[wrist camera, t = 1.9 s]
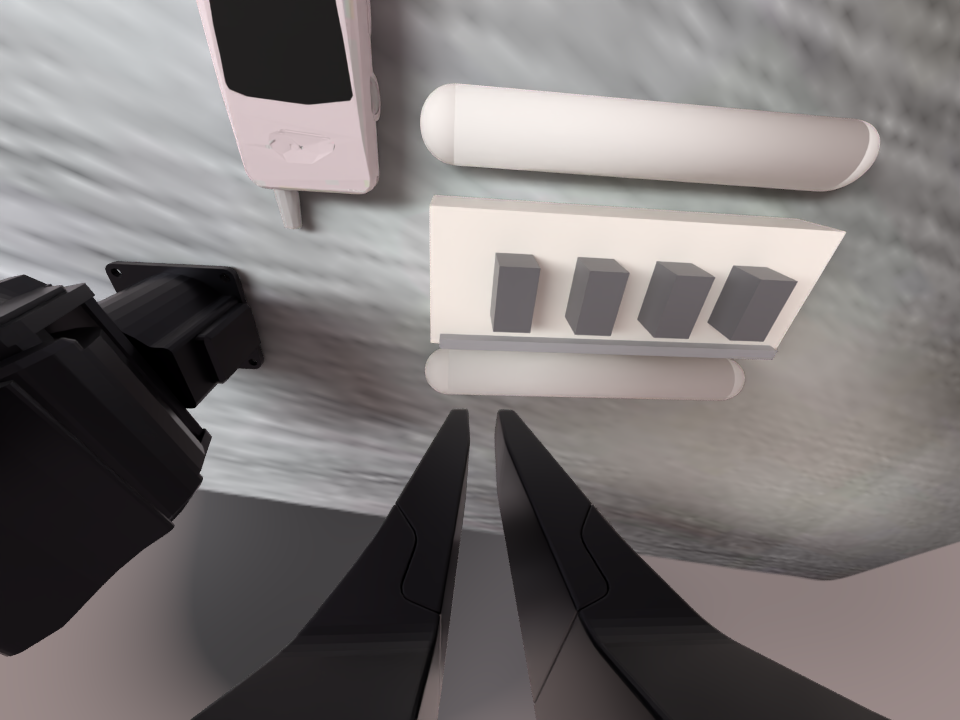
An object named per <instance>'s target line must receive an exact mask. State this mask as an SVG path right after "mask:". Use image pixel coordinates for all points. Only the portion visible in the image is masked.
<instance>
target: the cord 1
mask: <svg viewBox="0 0 960 720" xmlns="http://www.w3.org/2000/svg"><path fill="white" fill-rule="evenodd" d="M425 376H426V379H427V381H428V383H429V385H430V386H431V387H432V388H433V389H434V390H436V391H438V392H440V393H443V394H460V395H503V396H546V397H588V398H631V399H674V400H717V401H718V400H726V399H730V398H732V397H734V396H736V395H737V394H738V393H739V392H740V391H741V390H742V388H743V386H744V383H745V375H744V371H743V369H742V368H741V366H740V365H739V364H738V363H737V362H735V361H734V360H732V359H730V358H702V357H672V356H641V355H611V354H580V353H549V352H519V351H488V350H458V349H438V350H436V351H435V352H433V353H432V354H431V355H430V357H429V358H428V360H427V362H426V365H425Z"/></svg>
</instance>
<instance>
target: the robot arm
mask: <svg viewBox="0 0 960 720" xmlns="http://www.w3.org/2000/svg"><path fill="white" fill-rule="evenodd" d="M117 269H118V270H119V271H120V272H121V273H122V274H121V273H119V272H118V271H117ZM105 270H106V273H107V275H108V277H109V279H110V281H111V283H112V285H113V287H114V289H115V290H116V292H117V293H116V294H114V295H112V296H110V297H108V298H106V299H104V300H101V301H99V302H96V300H95V299H94V298H93V296H95V294H94V293H93V292H92V291H91V290H90V288H89V287H88V286H87V285H86V284H85V283H81V284H76V285H71V286H66V287H63V286H62V285H58V286H52V285H51V284H45V283H43V282H40V281H38V280H36V279H33V278H31V277H29V276H26V275H19V276H15V277H10V278H7V279H4V280H1V281H0V654H2V655H4V656H13V655H16V654H18V653H21V652H23V651H24V650H26V649H28V648H29V647H31V646H33V645H34V644H36V643H38V642H39V641H41V640H42V639H44V638H46V637H47V636H49V635H51V634H52V633H54V632H55V631H57V630H59V629H60V628H62V627H63V626H64V625H65V624H66V623H67V622H68V621H69V620H70V619H71V618H72V617H73V616H74V615H75V614H76V613H77V612H78V610H80V609H81V608H82V606H83V605H84V604H85V603H86V602H87V601H88V600H89V599H90V598H91V597H92V596H93V595H94V594H95V593H96V592H97V591H98V590H99V589H100V588H101V587H102V585H104V583H106V582H107V581H108V580H109V579H110V578H111V577H112V576H113V575H114V574H115V573H116V572H117V571H118V570H119V569H120V568H121V567H123V566H124V565H125V564H126V563H127V562H129V561H130V560H131V559H132V558H133V557H135V556H136V555H137V554H138V553H139V552H141V551H142V550H143V549H145V548H146V547H148V546H149V545H151V544H152V543H154V542H155V541H157V540H158V539H159V538H161V537H163V536H164V535H165V534H167V533H168V532H170V531H171V530H172V529H173V528H174V524H173V523H172V521H173V520H174V519H175V518H176V517H177V515H178V514H179V513H180V512H181V511H182V510H183V509H184V507H185V506H186V504H187V503H188V502H189V500H190V499H191V497H192V496H193V495H194V494H195V492H196V491H197V489H198V488H199V487H200V485H201V483H202V480H203V477H202V476H201V474H200V471H201V469H202V466H203V462H204V459H205V456H206V453H207V450H208V447H209V444H210V441H211V438H212V436H211V435H210V434H209V432H208V431H207V430H206V429H202V428H201V426H200V425H199V424H198V423H197V422H196V420H195V419H194V418H193V417H192V416H191V414H190V413H189V412H188V411H187V410H186V408H195V407H196V406H197V405H198V404H199V403H200V402H201V401H202V400H203V399H204V398H205V397H206V396H207V395H208V393H209V392H210V391H211V390H212V389H213V388H214V387H215V386H216V385H217V384H223V383H225V382H226V381H227V380H228V379H229V377H230V376H231V375H232V374H233V373H234V372H235V371H236V370H237V369H238V368H242V369H258V368H260V367H261V366H262V364H263V363H264V357H263V354H262V351H261V348H260V343H261V341H260V338H259V335H258V331H257V328H256V325H255V322H254V318H253V315H252V312H251V308H250V307H249V306H248V304H247V302H246V299H245V295H244V292H243V289H242V286H241V282H240V279H239V276H238V274H237V272H236V271H235V270H234V269H232V268H230V267H226V266H207V265H186V264H165V263H144V262H123V261H116V262H112V263H110V264H108V265H107V266H106V268H105ZM224 273H225V274H227V275H228V276H229V277H230V280H229V279H227V278H226V277H225V276H224ZM252 359H254V360H256V361H257V362H254V361H253V360H252ZM469 448H470V432H469V414H468V410H467V409H452V410H451V412H450V414H449V415H448V417H447V419H446V420H445V422H444V423H443V425H442V427H441V428H440V430H439V432H438V433H437V435H436V437H435V438H434V440H433V442H432V443H431V445H430V447H429V448H428V450H427V452H426V453H425V455H424V456H423V458H422V460H421V461H420V463H419V465H418V466H417V468H416V470H415V471H414V473H413V475H412V476H411V478H410V480H409V481H408V483H407V485H406V486H405V488H404V489H403V491H402V493H401V494H400V496H399V498H398V499H397V501H396V503H395V505H394V506H393V507H392V509H391V511H390V512H389V514H388V516H387V517H386V519H385V520H384V522H383V524H382V525H381V527H380V528H379V530H378V531H377V533H376V534H375V536H374V537H373V539H372V540H371V542H370V543H369V544H368V546H367V547H366V548H365V550H364V551H363V552H362V554H361V555H360V556H359V558H358V559H357V560H356V562H355V563H354V564H353V566H352V567H351V568H350V570H349V571H348V572H347V574H346V575H345V576H344V577H343V579H342V580H341V581H340V582H339V584H338V585H337V586H336V587H335V589H334V590H333V591H332V593H331V594H330V595H329V596H328V598H327V599H326V600H325V601H324V603H323V604H322V605H321V607H320V608H319V609H318V610H317V612H316V613H315V614H314V615H313V617H312V618H311V619H310V620H309V622H308V623H307V624H306V625H305V627H304V628H303V629H302V630H301V631H300V632H299V633H298V634H297V636H296V637H295V638H294V639H293V640H292V641H291V642H290V643H289V644H288V645H287V646H286V647H284V648H283V649H282V650H281V651H280V652H279V653H278V654H277V655H275V656H274V657H273V658H271V659H270V660H269V661H268V662H266V663H265V664H264V665H262V666H261V667H260V668H258V669H257V670H256V671H254V672H253V673H252V674H250V675H249V676H248V677H246V678H245V679H244V680H242V681H241V682H240V683H238V684H237V685H236V686H235V687H233V688H232V689H230V690H229V691H228V692H226V693H225V694H224V695H222V696H221V697H220V698H218V699H217V700H216V701H215V702H213V703H212V704H211V705H209V706H208V707H207V708H205V709H204V710H203V711H201V712H200V713H199V714H197V715H196V716H195V717H193V718H192V719H191V720H438V712H439V704H440V696H441V688H442V681H443V673H444V665H445V657H446V649H447V641H448V634H449V626H450V617H451V610H452V602H453V594H454V587H455V578H456V570H457V563H458V555H459V546H460V540H461V532H462V524H463V516H464V508H465V500H466V488H467V475H468V461H469ZM495 459H496V480H497V494H498V501H499V507H500V513H501V518H502V524H503V530H504V536H505V541H506V547H507V553H508V558H509V563H510V570H511V576H512V581H513V587H514V593H515V599H516V605H517V611H518V616H519V622H520V627H521V634H522V639H523V645H524V650H525V656H526V662H527V668H528V674H529V679H530V685H531V690H532V697H533V702H534V703H535V705H534V709H535V714H536V720H890V719H888V718H886V717H884V716H882V715H880V714H878V713H876V712H873V711H871V710H869V709H867V708H865V707H863V706H861V705H859V704H857V703H855V702H853V701H851V700H850V699H848V698H846V697H844V696H842V695H840V694H837V693H836V692H834V691H832V690H830V689H828V688H826V687H824V686H822V685H820V684H818V683H816V682H814V681H812V680H810V679H808V678H806V677H804V676H802V675H801V674H799V673H797V672H795V671H792V670H791V669H789V668H786V667H785V666H783V665H781V664H779V663H777V662H775V661H773V660H771V659H769V658H767V657H765V656H763V655H761V654H759V653H757V652H755V651H754V650H751V649H750V648H748V647H746V646H744V645H741V644H740V643H738V642H736V641H734V640H732V639H731V638H729V637H728V636H726V635H725V634H723V633H721V632H720V631H719V630H717V629H716V628H715V627H713V626H712V625H711V624H710V623H708V622H707V621H706V620H705V619H703V618H702V617H701V616H700V615H699V614H698V613H697V612H696V611H694V609H693V608H691V607H690V606H689V605H688V604H687V603H686V602H685V601H684V600H683V599H682V598H681V597H680V596H679V595H678V594H677V593H676V592H675V591H674V590H673V589H672V588H671V587H670V586H669V585H668V584H667V583H666V582H665V581H664V580H663V579H662V578H661V577H660V576H659V575H658V574H657V573H656V572H655V571H654V570H653V569H652V568H651V567H650V566H649V565H648V564H647V563H646V562H645V561H644V560H643V559H642V558H641V557H640V556H639V555H638V554H637V553H636V552H635V551H634V550H633V549H632V548H631V547H630V546H629V545H628V544H627V543H626V542H625V540H624V539H623V538H622V537H621V536H620V535H619V534H618V533H617V532H616V531H615V530H614V528H613V527H612V526H611V525H610V524H609V523H608V522H607V520H606V519H605V518H604V517H603V516H602V515H601V513H600V512H599V511H598V510H597V509H596V508H595V506H594V505H591V502H590V501H589V499H588V498H587V497H586V496H585V495H584V493H583V492H582V491H581V490H580V489H579V487H578V486H577V485H576V484H575V483H574V481H573V480H572V479H571V478H570V477H569V475H568V474H567V473H566V472H565V471H564V470H563V468H562V467H561V466H560V465H559V464H558V462H557V461H556V460H555V459H554V458H553V456H552V455H551V454H550V453H549V452H548V450H547V449H546V448H545V447H544V446H543V444H542V443H541V442H540V441H539V440H538V438H537V437H536V436H535V435H534V434H533V433H532V431H531V430H530V429H529V428H528V427H527V425H526V424H525V423H524V422H523V421H522V419H521V418H520V417H519V416H518V415H517V413H516V412H515V411H513V410H499V411H498V412H497V419H496V427H495Z"/></svg>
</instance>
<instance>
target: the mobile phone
mask: <svg viewBox="0 0 960 720" xmlns="http://www.w3.org/2000/svg"><path fill="white" fill-rule="evenodd" d="M196 2H197V6H198V9H199V13H200V17H201V20H202V24H203V28H204V31H205V35H206V39H207V42H208V46H209V50H210V53H211V57H212V61H213V64H214V68H215V72H216V75H217V79H218V83H219V86H220V90H221V93H222V96H223V100H224V103H225V106H226V109H227V113H228V116H229V119H230V122H231V126H232V129H233V132H234V135H235V139H236V142H237V145H238V148H239V152H240V155H241V158H242V161H243V165H244V168H245V171H246V173H247V175H248V176H249V178H250V179H251V180H252V181H253V182H254V183H256V184H257V185H258V186H260V187H262V188H267V189H274V193H275V197H276V200H277V204H278V207H279V210H280V213H281V217H282V220H283V223H284V226H285V228H287V229H299V228H301V227H302V219H301V209H300V200H299V193H298V191H312V192H328V193H345V194H365V193H367V192H369V191H370V190H372V189H373V188H374V187H375V186H376V184H377V183H378V180H379V163H378V147H377V131H376V121H377V120H379V117H380V114H381V103H380V92H379V86H378V82H377V78H376V76H375V75H374V73H373V67H372V53H371V38H370V36H371V8H370V0H196Z"/></svg>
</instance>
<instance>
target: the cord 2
mask: <svg viewBox="0 0 960 720" xmlns="http://www.w3.org/2000/svg"><path fill="white" fill-rule="evenodd" d="M420 129H421V134H422V138H423V140H424V143H425V145H426V147H427V148H428V150H429V151H430V152H431V153H432V154H433V155H434V157H436V158H437V159H438V160H440V161H442V162H444V163H446V164H450V165H458V166H472V167H485V168H499V169H513V170H527V171H541V172H555V173H569V174H583V175H596V176H610V177H624V178H638V179H652V180H666V181H680V182H694V183H707V184H721V185H735V186H749V187H763V188H777V189H791V190H805V191H818V192H819V191H830V190H835V189H838V188H841V187H844V186H846V185H848V184H850V183H852V182H853V181H855V180H857V179H858V178H859V177H861V176H862V175H863V174H864V173H865V172H866V171H867V170H868V169H869V168H870V167H871V166H872V164H873V163H874V161H875V159H876V157H877V155H878V152H879V148H880V136H879V134H878V132H877V130H876V129H875V128H874V127H873V126H872V125H871V124H869V123H867V122H865V121H862V120H858V119H848V118H837V117H826V116H815V115H804V114H792V113H781V112H770V111H759V110H748V109H737V108H725V107H714V106H703V105H692V104H681V103H670V102H658V101H647V100H636V99H625V98H614V97H603V96H591V95H580V94H569V93H558V92H547V91H536V90H524V89H513V88H502V87H491V86H480V85H468V84H457V83H454V84H446V85H442V86H440V87H439V88H437V89H435V90H434V91H433V92H432V93H431V94H430V95H429V96H428V98H427V99H426V101H425V103H424V105H423V108H422V112H421V116H420Z"/></svg>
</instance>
